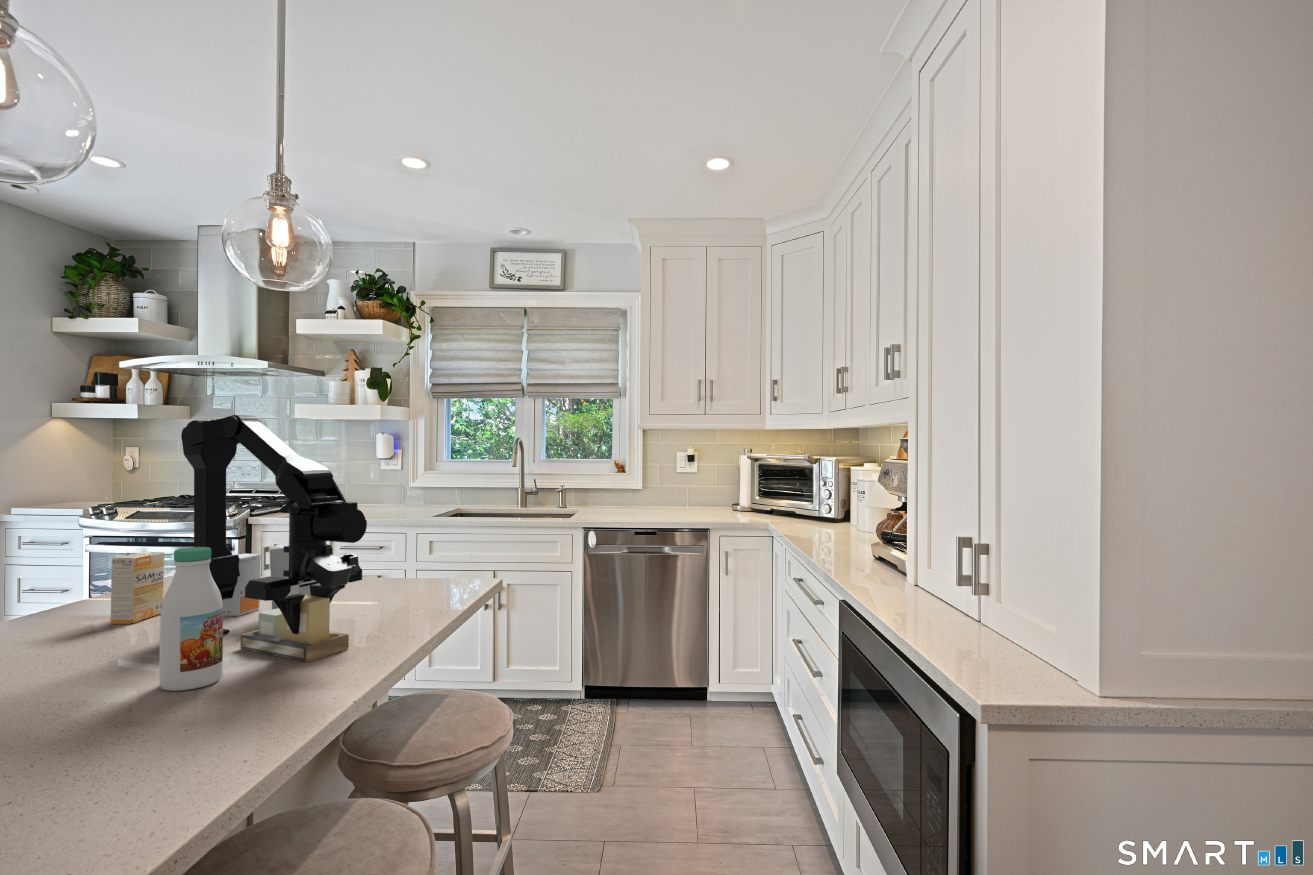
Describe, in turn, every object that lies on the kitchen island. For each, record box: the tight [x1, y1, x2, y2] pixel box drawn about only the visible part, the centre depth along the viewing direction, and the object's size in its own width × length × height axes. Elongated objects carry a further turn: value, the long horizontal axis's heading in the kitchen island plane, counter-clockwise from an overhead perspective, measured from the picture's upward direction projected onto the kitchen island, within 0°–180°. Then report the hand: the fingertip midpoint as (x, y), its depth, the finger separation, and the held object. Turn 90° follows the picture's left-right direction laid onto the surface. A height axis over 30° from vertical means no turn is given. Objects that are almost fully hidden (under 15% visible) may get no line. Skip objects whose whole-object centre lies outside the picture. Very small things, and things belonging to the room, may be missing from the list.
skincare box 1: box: [222, 553, 261, 617], centre depth 141 cm, size 6×4×12 cm
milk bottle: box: [159, 546, 224, 692], centre depth 100 cm, size 8×8×20 cm
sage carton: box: [258, 608, 285, 639], centre depth 118 cm, size 4×4×6 cm
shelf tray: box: [240, 629, 350, 663], centre depth 116 cm, size 17×8×2 cm, turn 65°
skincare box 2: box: [269, 543, 314, 610], centre depth 138 cm, size 8×6×15 cm
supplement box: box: [110, 551, 165, 625], centre depth 136 cm, size 8×5×13 cm, turn 179°
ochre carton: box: [285, 595, 331, 644], centre depth 115 cm, size 4×6×8 cm
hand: (307, 630), depth 115 cm, fingers closed on ochre carton, 4 cm apart
